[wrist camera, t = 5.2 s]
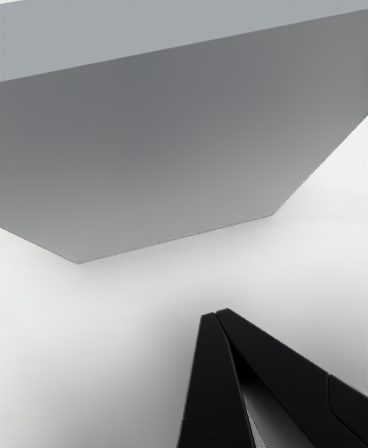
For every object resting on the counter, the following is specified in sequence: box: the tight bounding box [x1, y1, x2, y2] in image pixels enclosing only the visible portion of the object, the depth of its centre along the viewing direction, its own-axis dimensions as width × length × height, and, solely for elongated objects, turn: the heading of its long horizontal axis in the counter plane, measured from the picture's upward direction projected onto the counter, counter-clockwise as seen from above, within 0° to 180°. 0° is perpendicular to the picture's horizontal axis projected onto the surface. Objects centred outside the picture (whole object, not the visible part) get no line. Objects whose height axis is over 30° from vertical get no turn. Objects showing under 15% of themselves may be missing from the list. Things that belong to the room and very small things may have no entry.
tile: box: [0, 0, 368, 264], centre depth 12 cm, size 2×12×14 cm, turn 105°
